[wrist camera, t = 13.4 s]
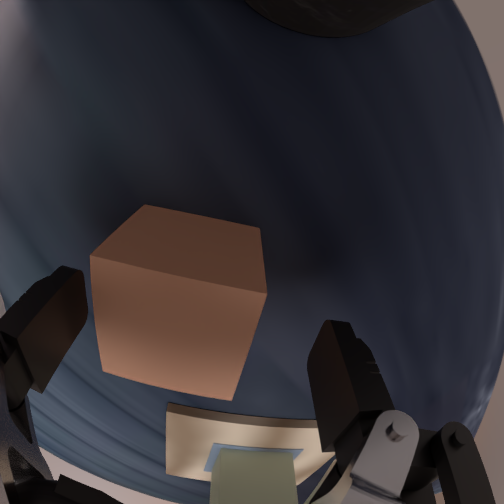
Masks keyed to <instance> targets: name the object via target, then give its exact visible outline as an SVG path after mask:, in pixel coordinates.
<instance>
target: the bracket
mask: <svg viewBox="0 0 504 504" xmlns="http://www.w3.org/2000/svg"><path fill="white" fill-rule="evenodd" d="M5 313H6V310H5V306H4V302H3V299H2V296H1V293H0V318H1V317H2V316H3V315H4V314H5Z"/></svg>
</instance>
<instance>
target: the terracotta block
mask: <svg viewBox="0 0 504 504" xmlns="http://www.w3.org/2000/svg"><path fill="white" fill-rule="evenodd" d="M90 272H91V287H92V299H93V309H94V318H95V326H96V333H97V340H98V346H99V352H100V358H101V363H102V369H103V371H104V372H107V373H111V374H114V375H117V376H120V377H124V378H127V379H131V380H134V381H138V382H142V383H145V384H149V385H153V386H157V387H161V388H166V389H170V390H175V391H179V392H184V393H189V394H194V395H200V396H205V397H211V398H217V399H223V400H230V401H232V398H233V395H234V392H235V389H236V386H237V384H238V381H239V378H240V375H241V372H242V369H243V366H244V363H245V360H246V357H247V354H248V351H249V348H250V345H251V342H252V339H253V336H254V333H255V330H256V327H257V324H258V321H259V318H260V315H261V312H262V309H263V306H264V303H265V300H266V297H267V286H266V278H265V269H264V260H263V251H262V243H261V234H260V228H257V227H252V226H248V225H243V224H238V223H234V222H229V221H224V220H220V219H215V218H210V217H205V216H200V215H196V214H191V213H186V212H181V211H176V210H171V209H166V208H161V207H156V206H150V205H145V204H144V205H143V206H142V207H141V208H140V209H139V210H137V211H136V212H135V213H134V214H133V215H132V216H131V217H130V218H128V219H127V220H126V221H125V222H124V223H123V224H122V225H121V226H120V227H119V228H117V229H116V230H115V231H114V232H113V233H112V234H111V235H110V236H109V237H108V238H107V239H106V240H105V241H104V242H103V243H102V244H101V245H100V246H99V247H97V248H96V249H95V250H94V251H93V252H92V253H91V254H90Z"/></svg>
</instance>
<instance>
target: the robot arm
mask: <svg viewBox="0 0 504 504" xmlns="http://www.w3.org/2000/svg"><path fill="white" fill-rule="evenodd" d="M87 315H88V306H87V298H86V290H85V281H84V274H83V272H82V271H81V270H78V269H74V268H70V267H67V266H60V267H59V268H58V269H57V270H56V271H54V272H53V273H52V274H51V275H50V276H49V277H48V276H47V277H45V278H43V279H41V280H39V281H37V282H35V283H34V284H33V285H32V286H31V287H30V288H29V289H28V290H27V291H26V294H25V293H24V294H23V295H22V296H21V297H20V298H19V301H16V302H15V303H14V304H13V305H12V306H11V307H10V308H9V310H8V311H7V312H6V313H5V314H4V315H3V316H2V317H1V318H0V504H123V503H121V502H119V501H117V500H116V499H114V498H112V497H111V496H109V495H107V494H106V493H104V492H102V491H100V490H97V489H95V488H92V487H89V486H87V485H84V484H82V483H80V482H77V481H75V480H72V479H70V478H68V477H66V476H64V475H62V474H60V476H59V479H58V481H57V480H54V479H53V477H52V474H51V471H50V470H49V467H48V465H47V463H46V461H45V459H44V457H43V456H42V454H41V452H40V449H39V446H38V442H37V438H36V434H35V430H34V425H33V420H32V415H31V410H30V404H29V399H28V396H27V393H28V391H29V389H30V388H31V389H33V390H35V391H37V392H39V393H41V394H42V393H43V391H44V390H45V388H46V386H47V384H48V383H49V381H50V379H51V377H52V376H53V374H54V372H55V371H56V369H57V367H58V366H59V364H60V362H61V361H62V359H63V357H64V356H65V354H66V353H67V351H68V349H69V348H70V346H71V345H72V343H73V342H74V340H75V339H76V337H77V335H78V334H79V332H80V331H81V329H82V328H83V326H84V325H85V323H86V320H87ZM375 362H376V361H375V359H374V357H373V354H372V352H371V350H370V349H369V347H368V346H367V345H366V344H365V343H364V342H363V341H362V340H361V339H359V338H356V336H355V334H354V331H353V329H352V327H351V324H350V323H349V322H342V321H334V320H326V321H325V322H324V323H323V325H322V327H321V330H320V332H319V334H318V336H317V338H316V341H315V343H314V345H313V347H312V349H311V351H310V353H309V357H308V362H307V371H308V376H309V382H310V387H311V392H312V398H313V403H314V409H315V415H316V420H317V426H318V432H319V438H320V444H321V450H322V453H323V452H335V454H336V459H335V460H334V461H333V463H332V464H331V466H330V467H329V469H328V470H327V472H326V473H325V475H324V476H323V478H322V479H321V481H320V482H319V484H318V485H317V487H316V488H315V489H314V491H313V492H312V494H311V495H310V496H309V498H308V499H307V500H306V502H305V503H304V504H436V500H435V496H434V491H433V487H432V484H431V483H432V482H433V481H435V480H436V479H438V478H439V481H440V484H441V488H442V492H443V496H444V500H445V504H496V503H495V500H494V496H493V493H492V489H491V486H490V483H489V480H488V477H487V474H486V471H485V468H484V465H483V462H482V460H481V457H480V454H479V452H478V449H477V447H476V444H475V442H474V439H473V437H472V434H471V433H470V431H469V430H468V428H467V427H465V426H464V425H463V424H461V423H459V422H449V423H447V424H446V425H444V426H443V427H442V428H441V429H440V430H439V431H438V432H437V431H430V430H424V429H419V428H418V427H417V425H416V423H415V422H414V420H413V419H412V418H411V417H410V416H408V415H407V414H405V413H403V412H401V411H397V410H395V408H394V405H393V403H392V400H391V398H390V395H389V393H388V390H387V388H386V385H385V383H384V380H383V378H382V375H381V374H379V372H380V371H379V368H378V366H377V364H375Z"/></svg>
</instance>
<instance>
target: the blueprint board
mask: <svg viewBox="0 0 504 504" xmlns="http://www.w3.org/2000/svg"><path fill="white" fill-rule="evenodd" d="M221 448H227V449H237V450H248V451H262V452H288V453H293V462H294V471H295V480H296V485H298V484H300V483H301V482H302V481H304V480H305V479H306V478H307V477H309V476H310V475H311V474H312V473H314V472H315V471H316V470H317V469H319V468H320V467H321V466H322V465H323V464H324V463H326V462H327V461H328V460H329V459H330V458H331V457H332V456H334V455H335V452H323V453H322V450H321V444H320V438H319V432H318V426H317V420H296V419H278V418H265V417H254V416H245V415H237V414H229V413H222V412H215V411H209V410H203V409H198V408H192V407H187V406H182V405H177V404H173V403H168V407H167V413H166V474H170V475H175V476H180V477H186V478H192V479H198V480H205V481H211V474H212V468H213V466H214V463H215V461H216V459H217V456H218V454H219V452H220V449H221Z"/></svg>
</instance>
